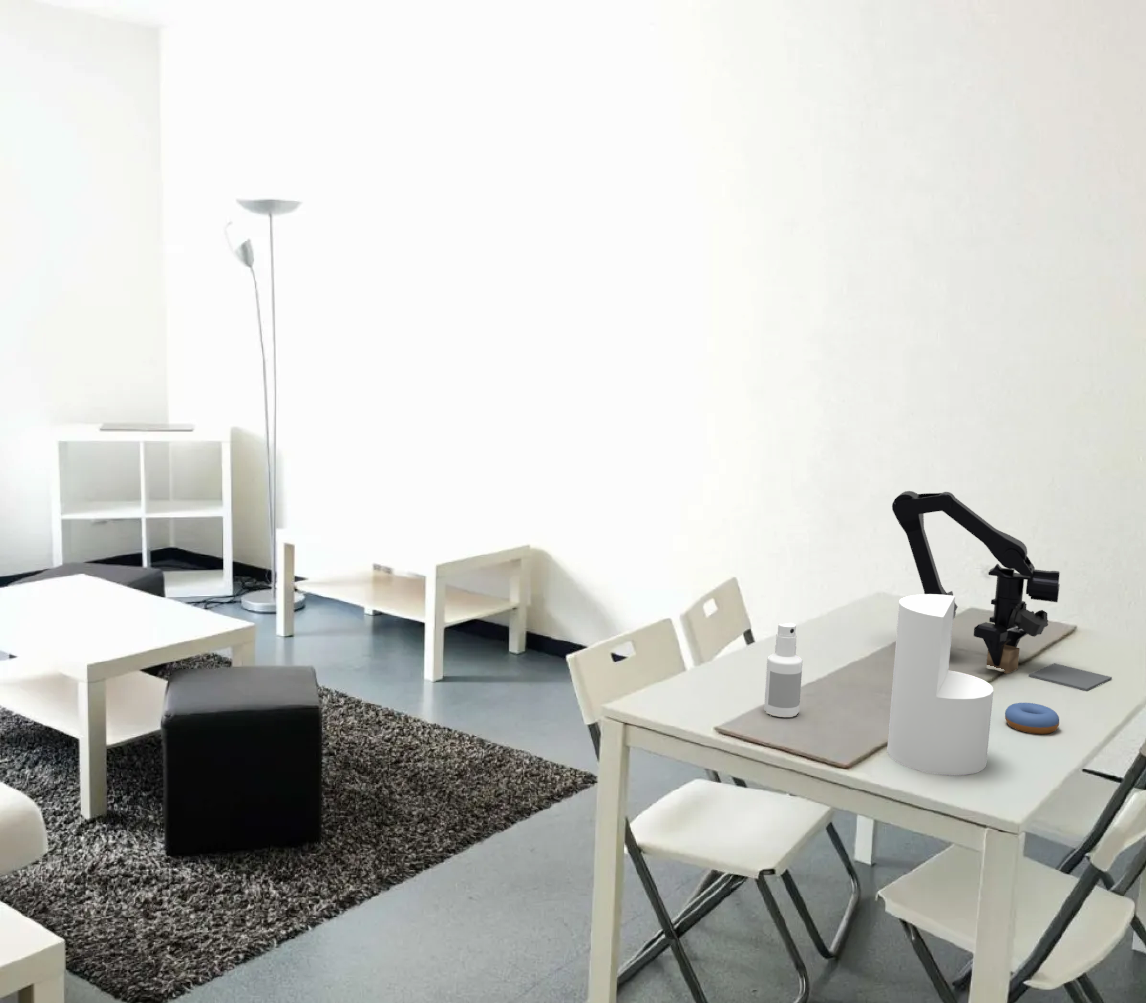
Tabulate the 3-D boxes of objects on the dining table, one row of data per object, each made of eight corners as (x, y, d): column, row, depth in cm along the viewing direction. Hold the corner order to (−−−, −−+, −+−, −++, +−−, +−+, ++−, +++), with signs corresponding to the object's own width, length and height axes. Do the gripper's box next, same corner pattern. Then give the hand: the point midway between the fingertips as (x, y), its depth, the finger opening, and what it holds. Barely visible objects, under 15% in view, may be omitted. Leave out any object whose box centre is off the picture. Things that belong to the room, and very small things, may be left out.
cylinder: (879, 764, 214) (891, 610, 209) (895, 733, 230) (906, 589, 225) (981, 782, 207) (996, 624, 202) (990, 749, 223) (1004, 602, 218)
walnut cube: (1007, 673, 270) (1009, 652, 269) (986, 668, 273) (988, 647, 272) (1017, 669, 273) (1019, 648, 272) (996, 664, 277) (998, 643, 276)
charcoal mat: (1086, 691, 259) (1086, 688, 259) (1028, 676, 268) (1028, 674, 268) (1111, 679, 268) (1111, 677, 268) (1054, 665, 277) (1054, 663, 277)
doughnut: (995, 725, 235) (1000, 703, 234) (1013, 715, 243) (1018, 694, 242) (1045, 743, 229) (1051, 721, 228) (1063, 733, 237) (1068, 711, 236)
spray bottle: (778, 720, 234) (783, 630, 231) (757, 709, 240) (762, 621, 237) (806, 716, 237) (812, 627, 234) (784, 705, 243) (790, 618, 240)
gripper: (1024, 610, 258) (1017, 680, 261) (1062, 597, 271) (1055, 664, 274) (975, 599, 266) (969, 668, 269) (1015, 587, 279) (1008, 653, 281)
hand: (1002, 663), depth 273 cm, fingers closed on walnut cube, 5 cm apart
